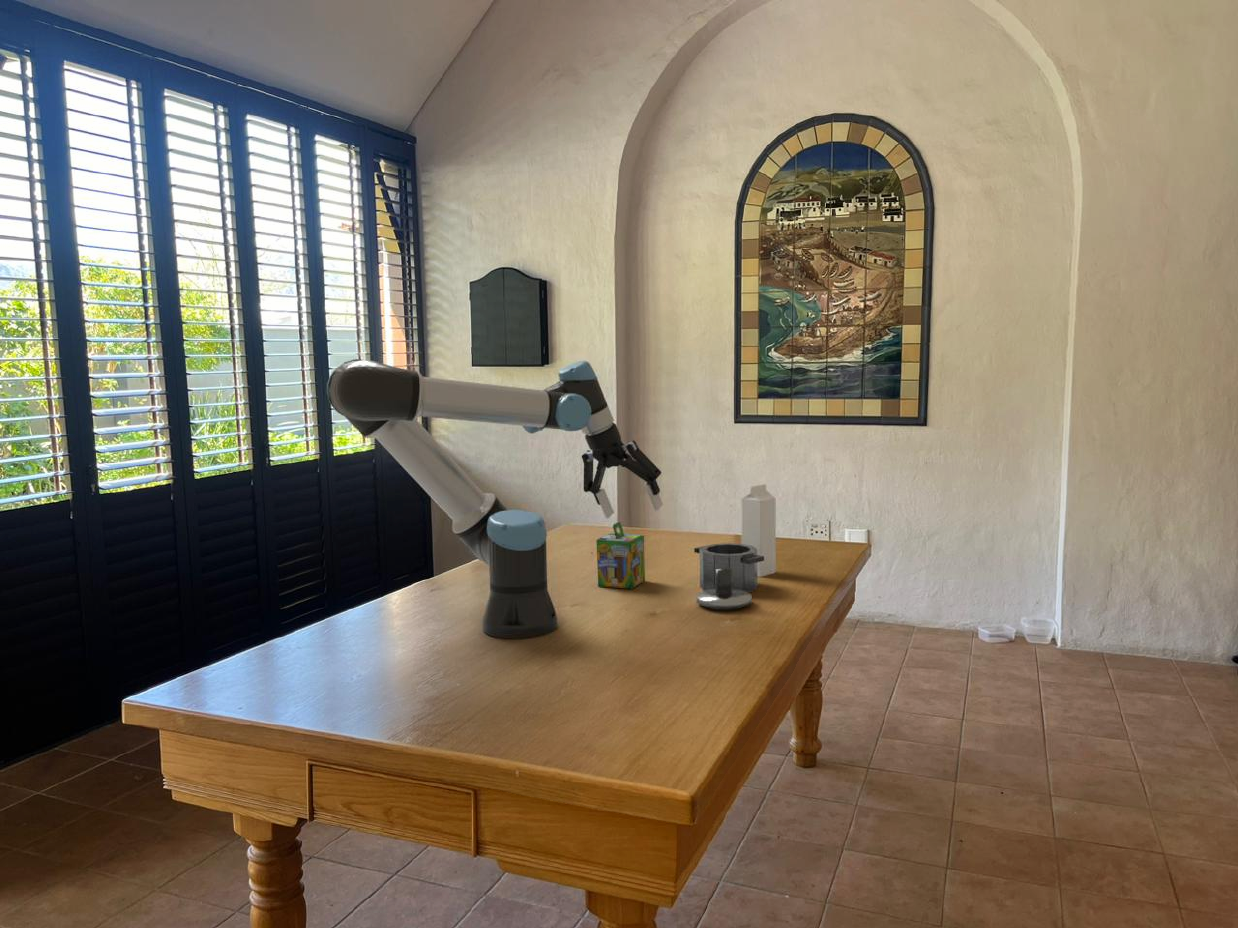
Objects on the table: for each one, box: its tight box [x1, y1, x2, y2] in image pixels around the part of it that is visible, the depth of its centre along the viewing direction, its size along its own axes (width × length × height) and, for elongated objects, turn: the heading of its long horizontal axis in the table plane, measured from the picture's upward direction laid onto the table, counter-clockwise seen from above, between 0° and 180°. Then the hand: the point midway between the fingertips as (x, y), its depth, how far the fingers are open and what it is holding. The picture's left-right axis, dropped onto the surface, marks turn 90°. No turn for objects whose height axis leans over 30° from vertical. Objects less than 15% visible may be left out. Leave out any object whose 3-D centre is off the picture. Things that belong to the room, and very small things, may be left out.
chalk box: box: [596, 521, 646, 590], centre depth 225 cm, size 9×9×15 cm
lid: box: [695, 567, 753, 611], centre depth 205 cm, size 12×12×8 cm
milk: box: [741, 483, 777, 578], centre depth 232 cm, size 6×6×22 cm
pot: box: [693, 542, 764, 593], centre depth 220 cm, size 13×18×9 cm
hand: (634, 511), depth 215 cm, fingers open, 13 cm apart
